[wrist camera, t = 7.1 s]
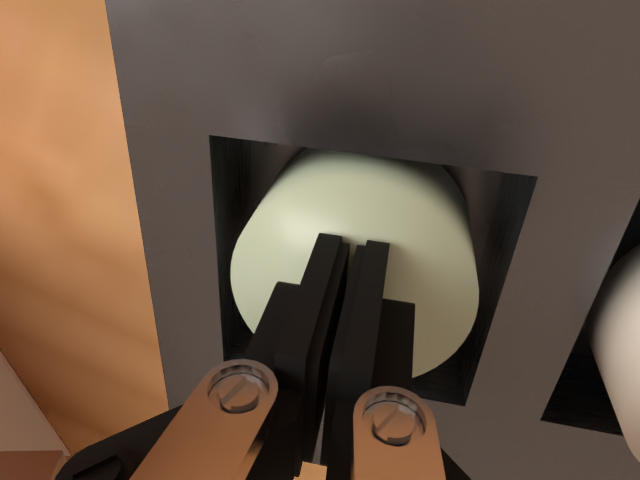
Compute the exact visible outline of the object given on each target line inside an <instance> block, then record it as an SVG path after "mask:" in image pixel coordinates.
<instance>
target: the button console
mask: <svg viewBox="0 0 640 480" xmlns="http://www.w3.org/2000/svg"><path fill="white" fill-rule="evenodd" d="M105 4H106V10H107V17H108V23H109V29H110V36H111V42H112V49H113V55H114V61H115V68H116V74H117V80H118V87H119V93H120V99H121V106H122V112H123V118H124V125H125V131H126V138H127V144H128V150H129V157H130V163H131V169H132V176H133V182H134V188H135V195H136V201H137V207H138V214H139V220H140V227H141V233H142V239H143V246H144V252H145V258H146V265H147V271H148V277H149V284H150V290H151V296H152V303H153V309H154V316H155V322H156V328H157V335H158V341H159V347H160V354H161V360H162V366H163V373H164V379H165V385H166V392H167V398H168V405H169V410H171V409H173V408H176V407H178V406H180V405H182V404H184V403H185V402H186V400H187V399H188V398H189V396H190V395H191V393H192V392H193V391H194V389H195V388H196V387H197V385H198V384H199V382H200V381H201V380H202V378H203V377H204V376H205V375H206V374H207V373H208V372H209V371H210V370H211V369H212V368H213V367H215V366H217V365H219V364H220V363H223V362H226V361H229V360H233V359H243V358H244V356H245V353H246V351H247V349H248V346H249V344H250V342H251V340H252V337H253V335H254V333H253V332H252V331H251V329H250V328H249V327H248V326H247V324H246V322H245V321H244V319H243V317H242V316H241V314H240V312H239V309H238V307H237V305H236V302H235V299H234V295H233V292H232V286H231V278H230V274H231V261H232V256H233V251H234V248H235V246H236V243H237V240H238V238H239V237H240V235H241V233H242V231H243V230H244V228H245V226H246V225H247V223H248V222H249V220H250V218H251V217H252V215H253V214H254V212H255V210H256V209H257V207H258V206H259V204H260V202H261V201H262V199H263V198H264V196H265V195H266V193H267V191H268V190H269V188H270V187H271V185H272V183H273V182H274V180H275V179H276V177H277V175H278V174H279V173H280V172H281V170H282V169H283V168H284V167H285V165H286V164H288V163H289V162H290V161H291V160H292V159H293V158H294V157H295V156H297V155H298V154H300V153H301V152H302V151H304V150H305V149H307V148H316V149H324V150H332V151H340V152H348V153H356V154H363V155H371V156H379V157H387V158H395V159H403V160H411V161H419V162H426V163H434V164H440V165H441V166H442V167H443V168H444V169H445V170H446V171H447V173H448V174H449V175H450V176H451V177H452V178H453V180H454V181H455V183H456V184H457V186H458V187H459V189H460V191H461V193H462V195H463V197H464V199H465V202H466V205H467V208H468V212H469V218H470V225H471V232H472V240H473V248H474V256H475V263H476V271H477V279H478V287H479V305H478V310H477V315H476V319H475V321H474V324H473V326H472V329H471V331H470V333H469V334H468V336H467V338H466V339H465V341H464V342H463V343H462V345H461V346H460V347H459V348H458V350H457V351H456V352H455V353H454V354H452V355H451V356H450V357H449V358H448V359H447V360H446V361H444V362H443V363H441V364H440V365H438V366H437V367H436V368H434V369H432V370H430V371H428V372H426V373H424V374H422V375H419V376H416V377H414V378H412V392H413V393H415V394H416V395H417V396H419V397H420V398H421V399H423V400H424V401H425V402H426V404H427V405H428V406H429V408H430V409H431V411H432V413H433V416H434V419H435V422H436V428H437V433H438V438H439V444H440V447H441V448H442V449H443V450H444V451H445V452H446V453H447V454H448V455H449V456H450V457H451V458H452V460H453V461H454V462H455V463H456V464H457V465H458V466H459V467H460V468H461V469H462V470H463V471H464V472H465V473H466V474H467V475H468V476H469V477H470V478H471V479H472V480H640V462H639V461H638V460H637V459H636V457H635V456H634V454H633V453H632V452H631V450H630V449H629V447H628V444H627V442H626V440H625V437H624V435H623V432H622V429H621V427H620V424H619V422H618V419H617V416H616V414H615V411H614V408H613V406H612V403H611V400H610V398H609V395H608V392H607V390H606V387H605V385H604V382H603V379H602V377H601V374H600V371H599V369H598V366H597V363H596V361H595V358H594V355H593V353H592V350H591V348H590V345H589V342H588V338H587V333H586V317H587V314H588V312H589V310H590V308H591V306H592V303H593V301H594V299H595V297H596V294H597V292H598V290H599V288H600V286H601V283H602V281H603V279H604V277H605V275H606V273H607V272H608V271H609V270H610V269H611V268H612V267H613V266H614V264H615V263H616V262H617V261H618V260H619V259H621V258H622V257H623V256H624V255H625V254H627V253H628V252H629V251H630V250H631V249H633V248H634V247H636V246H637V245H639V244H640V0H105ZM324 413H325V408H324V412H323V417H322V421H321V426H320V430H319V435H318V439H317V444H316V448H315V453H314V457H313V461H312V463H313V464H318V465H320V456H321V445H322V434H323V424H324ZM308 463H309V462H308ZM323 466H324V465H323Z"/></svg>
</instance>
